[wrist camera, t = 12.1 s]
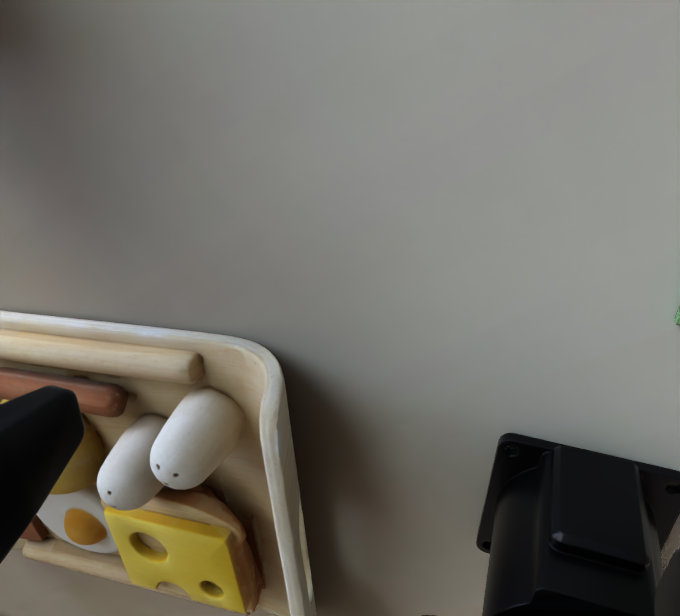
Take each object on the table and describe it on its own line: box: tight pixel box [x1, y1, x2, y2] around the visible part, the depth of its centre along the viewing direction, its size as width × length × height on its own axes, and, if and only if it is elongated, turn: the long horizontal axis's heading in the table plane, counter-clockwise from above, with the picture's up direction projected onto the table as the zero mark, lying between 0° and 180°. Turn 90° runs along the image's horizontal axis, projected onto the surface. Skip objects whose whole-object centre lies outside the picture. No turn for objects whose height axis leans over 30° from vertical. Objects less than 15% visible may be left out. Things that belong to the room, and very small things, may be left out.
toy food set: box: [0, 310, 317, 616], centre depth 28 cm, size 25×18×8 cm
